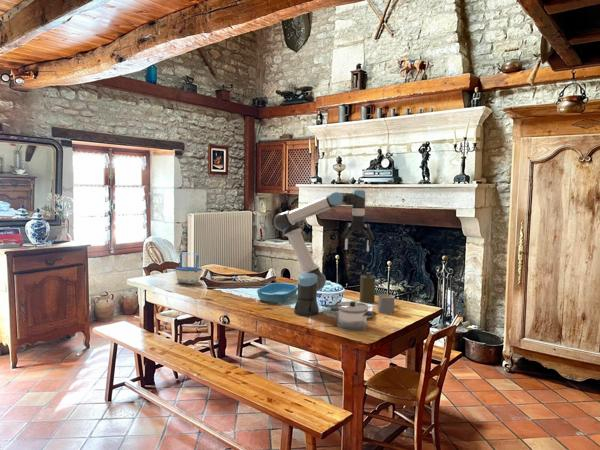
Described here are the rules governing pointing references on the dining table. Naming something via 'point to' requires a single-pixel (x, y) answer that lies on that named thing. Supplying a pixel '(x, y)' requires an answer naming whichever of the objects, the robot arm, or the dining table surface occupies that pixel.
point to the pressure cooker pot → (352, 319)
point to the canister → (367, 288)
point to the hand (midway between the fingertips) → (356, 250)
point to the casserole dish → (277, 292)
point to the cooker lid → (352, 306)
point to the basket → (188, 272)
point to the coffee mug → (386, 304)
